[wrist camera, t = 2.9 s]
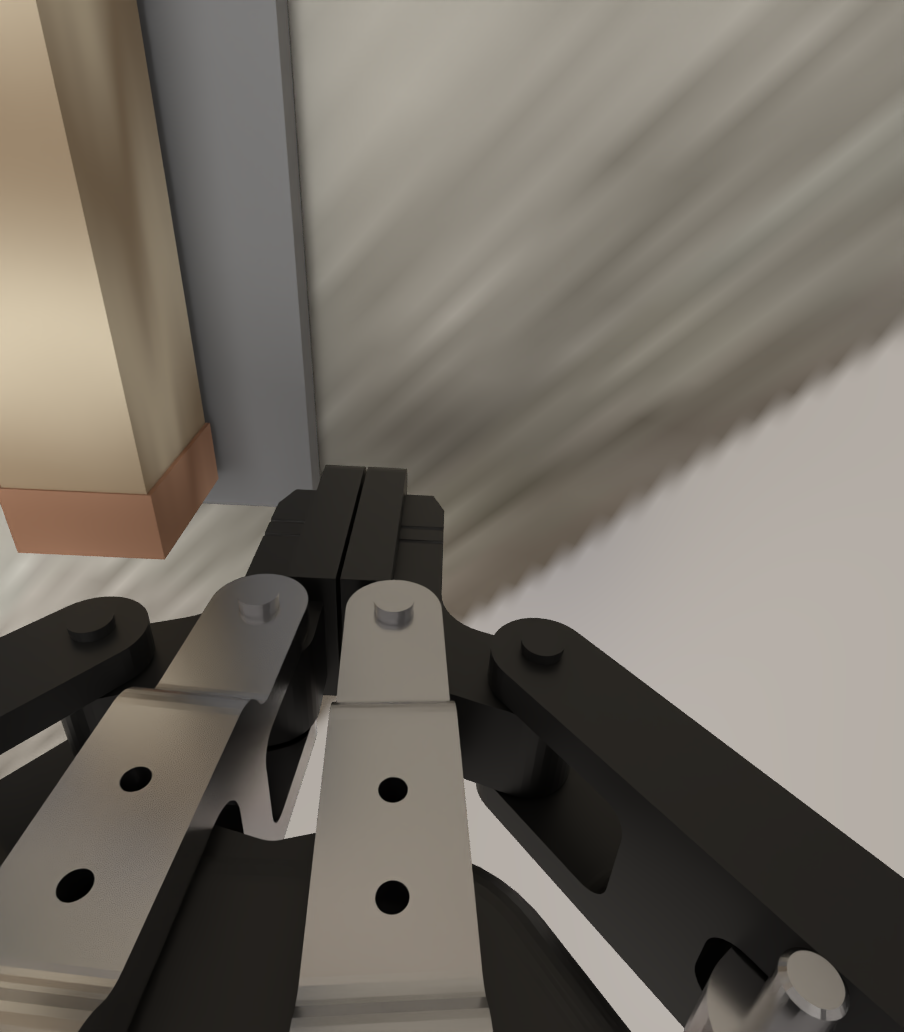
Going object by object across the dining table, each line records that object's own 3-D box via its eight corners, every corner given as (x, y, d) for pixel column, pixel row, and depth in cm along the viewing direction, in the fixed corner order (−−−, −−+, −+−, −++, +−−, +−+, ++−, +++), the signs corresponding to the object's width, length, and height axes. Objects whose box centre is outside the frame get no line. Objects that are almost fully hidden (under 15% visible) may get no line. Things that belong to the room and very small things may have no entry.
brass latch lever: (-342, -997, 8) (-891, -1744, 5) (38, -976, 8) (-253, -1709, 5) (74, 471, 18) (-10, 550, 15) (241, 479, 18) (192, 560, 15)
